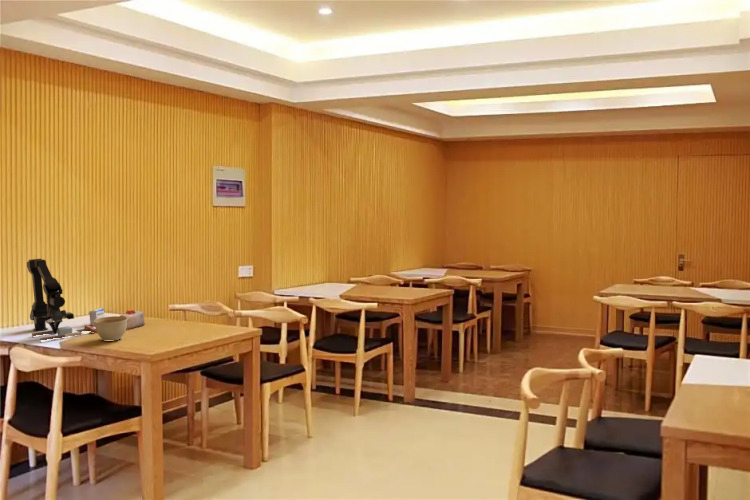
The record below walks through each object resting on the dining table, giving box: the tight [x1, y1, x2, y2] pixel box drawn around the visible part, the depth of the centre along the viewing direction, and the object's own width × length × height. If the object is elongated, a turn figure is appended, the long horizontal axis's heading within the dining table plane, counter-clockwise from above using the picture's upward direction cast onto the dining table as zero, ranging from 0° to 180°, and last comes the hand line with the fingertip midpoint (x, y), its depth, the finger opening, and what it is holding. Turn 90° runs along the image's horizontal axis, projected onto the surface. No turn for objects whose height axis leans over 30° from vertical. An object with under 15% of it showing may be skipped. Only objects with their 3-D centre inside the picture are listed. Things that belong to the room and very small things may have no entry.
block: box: [56, 325, 73, 335], centre depth 375 cm, size 6×6×4 cm
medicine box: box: [88, 307, 105, 327], centre depth 400 cm, size 8×4×9 cm, turn 168°
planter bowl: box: [94, 315, 128, 341], centre depth 362 cm, size 16×16×11 cm
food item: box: [119, 309, 146, 331], centre depth 390 cm, size 14×8×10 cm, turn 150°
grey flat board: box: [31, 324, 98, 341], centre depth 376 cm, size 17×28×2 cm, turn 130°
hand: (55, 333), depth 373 cm, fingers closed
